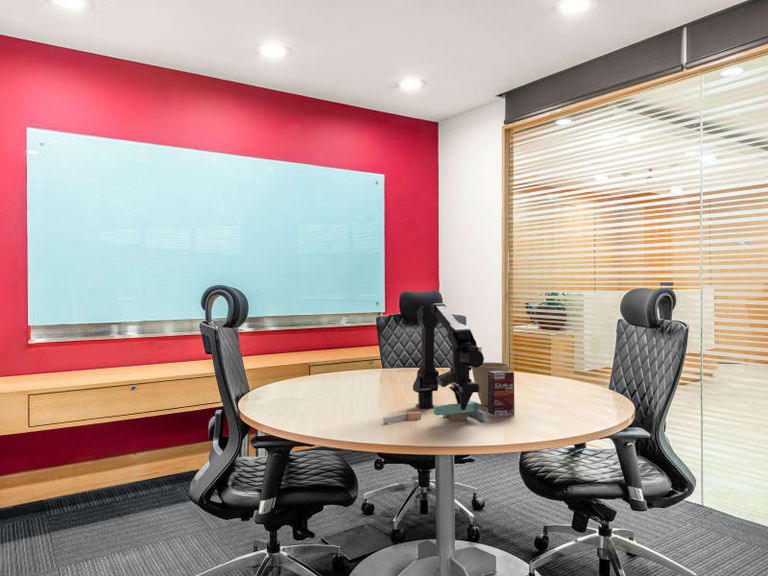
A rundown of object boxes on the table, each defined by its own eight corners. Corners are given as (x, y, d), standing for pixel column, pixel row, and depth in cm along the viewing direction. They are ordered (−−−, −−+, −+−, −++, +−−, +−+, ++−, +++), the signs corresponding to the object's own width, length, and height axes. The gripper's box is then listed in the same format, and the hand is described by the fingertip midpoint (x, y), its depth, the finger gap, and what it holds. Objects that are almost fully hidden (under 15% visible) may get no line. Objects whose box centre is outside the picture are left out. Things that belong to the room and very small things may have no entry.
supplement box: (494, 417, 193) (493, 373, 193) (487, 414, 198) (486, 371, 198) (515, 415, 196) (514, 371, 196) (508, 412, 200) (507, 370, 200)
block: (448, 418, 194) (448, 404, 194) (461, 417, 195) (461, 403, 195) (453, 421, 189) (453, 407, 189) (466, 420, 191) (466, 406, 191)
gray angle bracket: (442, 416, 197) (442, 407, 197) (472, 413, 200) (471, 405, 200) (453, 423, 185) (453, 415, 185) (485, 421, 188) (485, 412, 188)
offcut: (407, 419, 194) (407, 412, 194) (419, 418, 195) (419, 411, 195) (408, 420, 192) (408, 413, 192) (420, 419, 193) (420, 412, 193)
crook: (426, 410, 191) (426, 402, 191) (466, 406, 196) (466, 398, 197) (436, 415, 183) (436, 407, 183) (478, 411, 188) (478, 403, 188)
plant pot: (510, 409, 206) (509, 367, 206) (471, 408, 209) (470, 367, 209) (509, 401, 221) (508, 362, 221) (472, 400, 224) (472, 361, 224)
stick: (383, 424, 188) (383, 417, 188) (403, 419, 195) (403, 412, 195) (388, 425, 187) (387, 418, 187) (407, 419, 194) (407, 413, 194)
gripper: (430, 361, 195) (431, 405, 195) (448, 368, 176) (449, 416, 176) (459, 360, 197) (460, 403, 197) (479, 367, 179) (480, 414, 179)
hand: (461, 409), depth 187 cm, fingers closed on crook, 3 cm apart
